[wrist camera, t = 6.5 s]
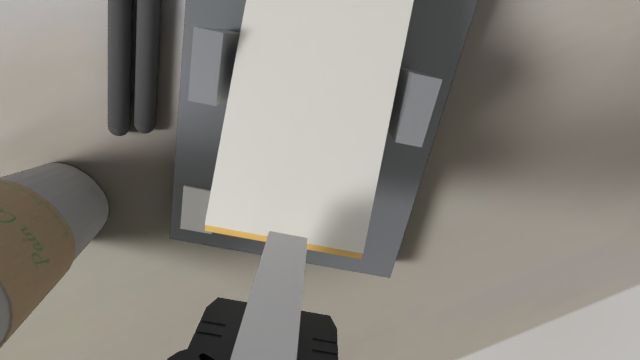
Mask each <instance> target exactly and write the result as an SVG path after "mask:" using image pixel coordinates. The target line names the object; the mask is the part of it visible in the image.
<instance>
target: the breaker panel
mask: <svg viewBox="0 0 640 360" xmlns="http://www.w3.org/2000/svg"><path fill="white" fill-rule="evenodd" d="M477 2H478V0H414V2H413V7H412V12H411V17H410V22H409V27H408V32H407V37H406V42H405V47H404V52H403V57H402V62H401V67H400V72H399V77H398V82H397V87H396V92H395V97H394V102H393V107H392V112H391V117H390V122H389V127H388V132H387V137H386V142H385V147H384V152H383V157H382V162H381V167H380V172H379V177H378V182H377V187H376V192H375V197H374V202H373V207H372V212H371V217H370V222H369V227H368V232H367V237H366V242H365V247H364V252H363V254H362V257H361V259H357V258H351V257H346V256H340V255H335V254H329V253H324V252H318V251H313V250H307V251H306V262H305V263H310V264H315V265H321V266H326V267H332V268H338V269H343V270H349V271H354V272H360V273H365V274H371V275H377V276H382V277H388V278H390V276H391V273H392V270H393V267H394V264H395V261H396V257H397V254H398V251H399V248H400V245H401V242H402V238H403V235H404V232H405V229H406V226H407V223H408V220H409V216H410V213H411V210H412V207H413V204H414V201H415V197H416V194H417V191H418V188H419V185H420V182H421V178H422V175H423V172H424V169H425V166H426V163H427V160H428V156H429V153H430V150H431V147H432V144H433V141H434V137H435V134H436V131H437V128H438V125H439V122H440V118H441V115H442V112H443V109H444V106H445V103H446V100H447V96H448V93H449V90H450V87H451V84H452V81H453V77H454V74H455V71H456V68H457V65H458V62H459V58H460V55H461V52H462V49H463V46H464V43H465V40H466V36H467V33H468V30H469V27H470V24H471V21H472V17H473V14H474V11H475V8H476V5H477ZM245 4H246V0H186V4H185V18H184V33H183V48H182V63H181V77H180V92H179V107H178V122H177V137H176V151H175V166H174V181H173V196H172V211H171V225H170V239H176V240H181V241H187V242H193V243H198V244H204V245H209V246H215V247H220V248H226V249H232V250H237V251H243V252H248V253H254V254H260V255H262V253H263V250H264V247H265V243H266V242H263V241H258V240H252V239H247V238H241V237H236V236H230V235H225V234H219V233H214V232H208V231H204V230H205V219H206V214H207V209H208V203H209V198H210V192H211V187H212V182H213V176H214V171H215V166H216V160H217V155H218V149H219V144H220V139H221V133H222V128H223V122H224V117H225V112H226V106H227V101H228V95H229V90H230V85H231V79H232V74H233V68H234V63H235V58H236V52H237V47H238V41H239V36H240V31H241V25H242V20H243V15H244V9H245Z"/></svg>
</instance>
